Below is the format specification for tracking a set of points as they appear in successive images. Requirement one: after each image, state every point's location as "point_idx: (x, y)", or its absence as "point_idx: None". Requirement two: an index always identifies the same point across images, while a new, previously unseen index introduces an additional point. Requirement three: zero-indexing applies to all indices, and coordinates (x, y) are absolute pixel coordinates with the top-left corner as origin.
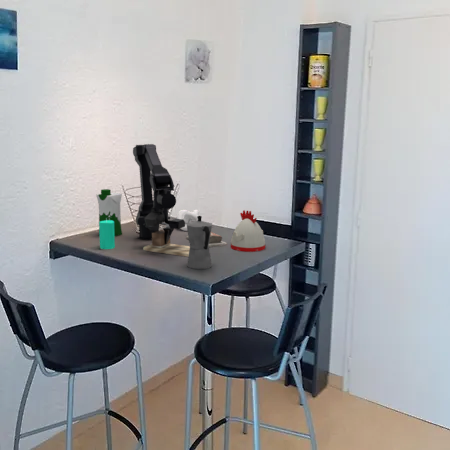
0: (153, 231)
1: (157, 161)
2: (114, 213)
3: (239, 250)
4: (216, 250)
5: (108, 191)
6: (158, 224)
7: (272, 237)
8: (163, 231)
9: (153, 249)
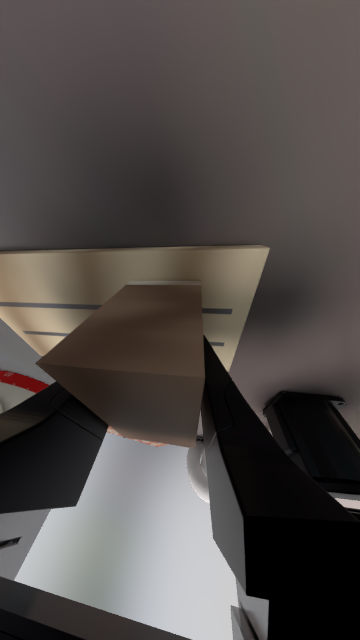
0: (221, 423)
1: None
2: None
3: (4, 372)
4: (34, 361)
5: None
6: (214, 538)
7: None
8: (140, 428)
9: (172, 249)
